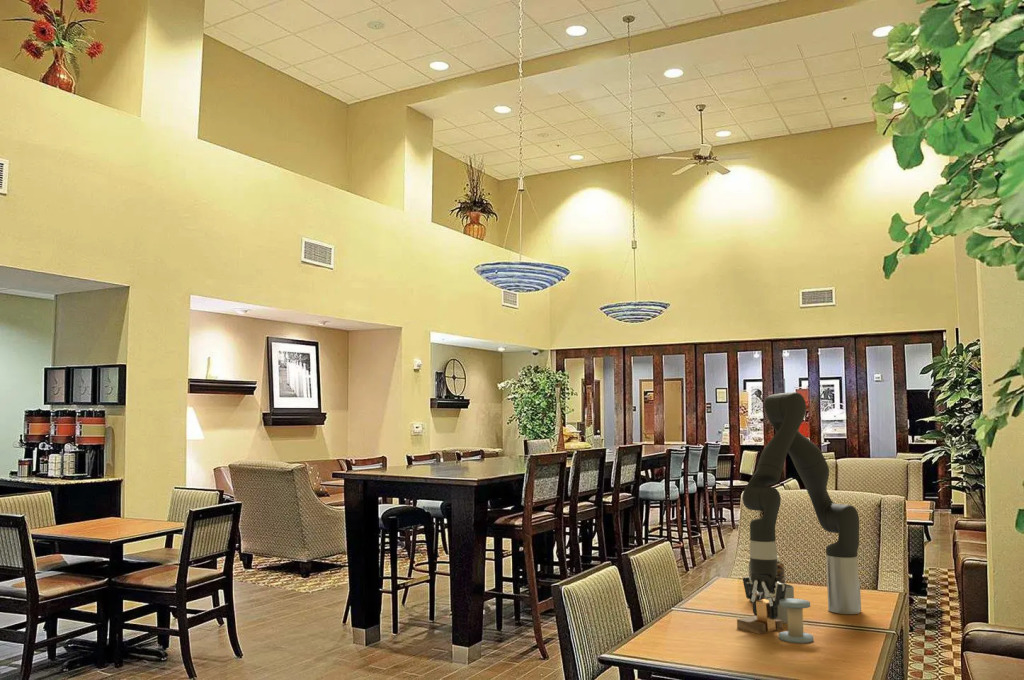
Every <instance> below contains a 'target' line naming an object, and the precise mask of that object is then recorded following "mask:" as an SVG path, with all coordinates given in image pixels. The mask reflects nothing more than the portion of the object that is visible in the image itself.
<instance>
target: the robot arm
mask: <svg viewBox="0 0 1024 680" xmlns="http://www.w3.org/2000/svg"><path fill="white" fill-rule="evenodd" d="M763 405H764V411H765V415H766V416H767V419H768V420H769V423H770V424H771V426H772V427H773V429H774V430H775V432H776V434H774V435H773V437H772V438H771V439H770V440H769V441H768V443H767V444H766V445H765V446H764V448H763V450H762V451H761V453H760V456H759V460H758V463H757V467H756V470H755V472H754V473H753V474H752V477H751V478H750V480H749V481H748V483H747V484H746V486H745V487H744V490H743V493H742V503H743V506H745V508H746V509H747V510H750V511H759V512H760V511H761V512H763V515H762V517H761V518H754V519H752V520H751V521H749V522H750V523H749V538H750V539H749V561H750V571H751V573H752V575H751V577H749V576H746V577H743V578H742V583H743V588H744V592H745V597H746V599H748V600H749V601H750V600H751V601H752V602H751V601H750V602H751V603H752V613H753V616H757V609H756V601H759V600H760V598H761V595H762V594H763V593H765V595H766V597H767V598H768V600H769V604H770V606H769V611H770V619H772V620H774V619H776V618H777V617H778V605H780V604H779V600H780V599H784V598H785V592H786V584H787V583H786V582H785V583H783V584H782V583H780V582H778V580H777V578H776V575H777V555H778V550H777V544H776V543H777V541H776V525H777V519H778V515H779V510H780V507H781V501H782V499H781V494H780V492H779V490H778V489H777V488H776V487H773V486H771V485H775V484H777V483H779V481H780V480H781V478H782V474H783V471H784V470H783V469H784V467H785V466H784V465H785V461H786V458H787V456H788V455H789V456H790V457H789V458H790V459H791V461H792V463H793V466H794V468H795V470H796V471H797V474H798V476H799V477H800V479H801V481H802V482H803V485H804V488H805V490H806V492H807V494H808V496H809V499H810V501H811V503H812V505H813V509H814V512H815V515H816V517H817V520H818V522H819V524H820V526H821V527H822V529H823V530H824V531H826V532H828V533H831V534H833V533H834V534H838V538H837V541H836V542H834V543H830V544H827V545H826V546H825V555H826V556H825V559H826V562H825V563H826V582H827V583H826V585H827V608H828V611H829V612H831V613H835V614H839V615H840V614H841V615H857V614H860V612H862V599H861V598H862V595H861V580H859V563H858V561H859V560H858V559H859V557H858V550H859V546H860V516H859V512H858V510H857V509H856V507H854V506H853V505H850V504H844V503H843V504H842V503H835V502H833V500H832V499H831V497H830V495H829V493H828V490H827V489H828V488H827V486H828V482H829V476H830V467H829V464H828V463H827V460H826V458H825V456H824V454H823V452H822V451H821V449H820V448H819V447H818V446H817V445H816V444H815V443H814V442H812V440H811V439H809V438H807V437H806V436H805V435H803V434H802V433H801V432H800V431H799V429H800V427H801V425H802V423H803V421H804V418H805V416H806V411H807V403H806V400H805V398H804V397H803V395H802V394H801V393H799V392H797V391H795V392H794V391H790V392H783V393H774V394H770V395H768V396H766V397H765V399H764V404H763ZM752 583H753V584H752ZM753 585H754V587H753ZM775 587H776V589H775ZM749 590H750V592H749ZM776 590H777V591H776ZM770 593H772V594H770ZM772 598H773V599H772Z"/></svg>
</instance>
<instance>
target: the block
mask: <svg viewBox="0 0 1024 680" xmlns="http://www.w3.org/2000/svg"><path fill="white" fill-rule="evenodd" d="M769 606H770V604H769V600H766V599H762V600H759V601H756V609H757V622H760V623H764V624H765V631H766V633H770V632H773V631H777V630H776V626H775V619H774V620H772V619H770V611H769Z"/></svg>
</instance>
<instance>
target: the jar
mask: <svg viewBox="0 0 1024 680" xmlns="http://www.w3.org/2000/svg"><path fill="white" fill-rule="evenodd" d="M748 561H749V562H748V577H751V575H752V573H751V571H750V560H748ZM785 570H786V568H785V563H784V562H783V561H780V556H779V555H778V554H777V575H776V578H777V580H778V582H780V583H782V584H783V583H785V584H786V571H785ZM752 584H753V583H752ZM753 587H754V585H753ZM749 592H750V590H749ZM762 599H765V593H763V594H762V595H761V598H760V600H762ZM749 602H751V603H753V602H752V601H751V600H750V599H749Z"/></svg>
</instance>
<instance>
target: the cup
mask: <svg viewBox="0 0 1024 680" xmlns="http://www.w3.org/2000/svg"><path fill="white" fill-rule="evenodd" d="M785 584H786V592H785V598H784V599H786V598H794V599H795V593H794V590H795V589H794V587H795V586H794V585H792V584H787V583H785ZM775 589H776V587H775ZM776 591H777V590H776ZM770 594H772V593H770ZM765 599H766V600H768V598H767V597H766V595H765ZM772 599H773V598H772ZM776 619H779V620H782V622H783V624H788V617H787V607H784V606H781V605H778V617H777V618H776Z"/></svg>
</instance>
